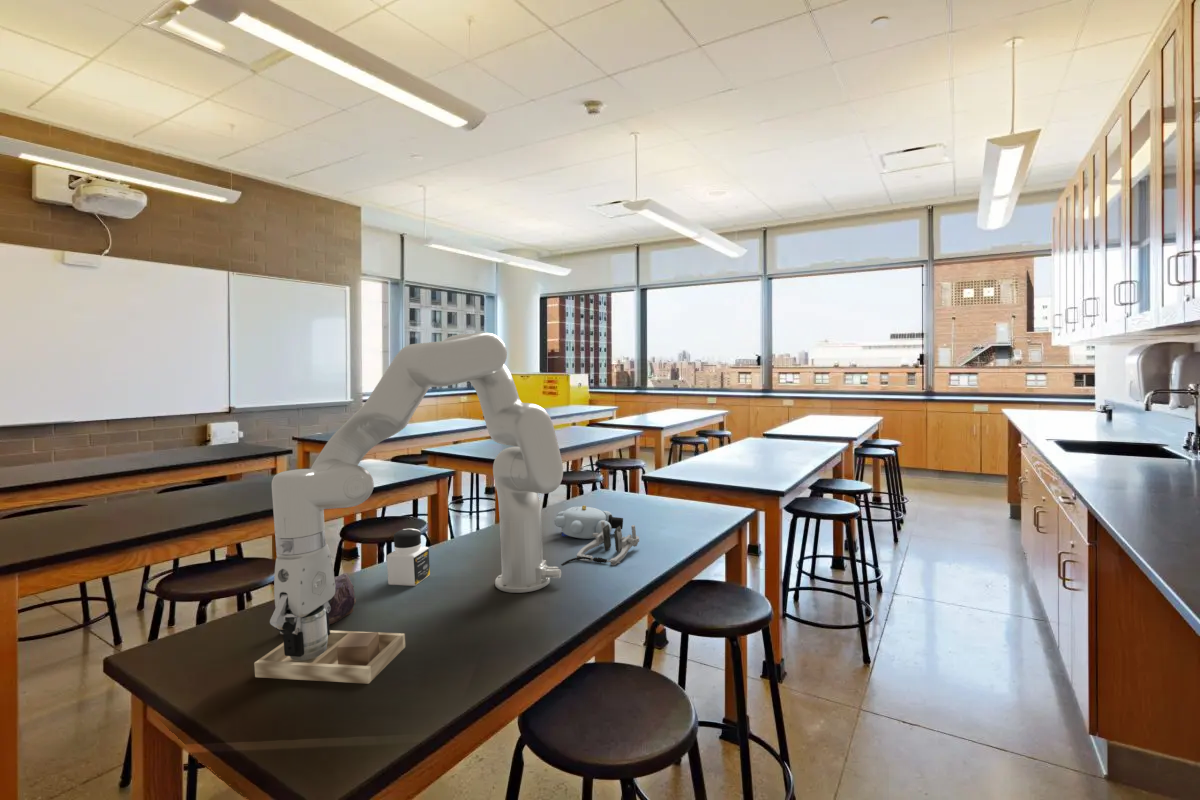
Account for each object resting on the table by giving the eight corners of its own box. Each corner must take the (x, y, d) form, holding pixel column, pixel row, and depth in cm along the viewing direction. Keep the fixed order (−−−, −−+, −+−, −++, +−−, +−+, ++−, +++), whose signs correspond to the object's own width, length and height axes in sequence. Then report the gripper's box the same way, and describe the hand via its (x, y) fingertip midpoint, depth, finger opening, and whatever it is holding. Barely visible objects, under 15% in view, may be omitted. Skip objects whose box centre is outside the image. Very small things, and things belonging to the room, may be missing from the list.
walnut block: (379, 654, 101) (378, 632, 101) (368, 669, 96) (367, 646, 96) (350, 655, 101) (349, 633, 100) (338, 670, 96) (336, 647, 95)
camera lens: (314, 640, 104) (311, 598, 104) (336, 648, 101) (333, 604, 100) (279, 656, 99) (276, 611, 98) (302, 665, 95) (298, 619, 95)
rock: (294, 631, 116) (320, 643, 110) (284, 592, 114) (309, 602, 108) (348, 602, 125) (374, 611, 119) (339, 565, 123) (365, 573, 117)
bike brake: (600, 539, 163) (562, 573, 146) (598, 517, 162) (559, 548, 145) (644, 546, 156) (609, 583, 139) (642, 523, 155) (607, 557, 138)
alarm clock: (550, 542, 164) (621, 548, 163) (552, 512, 163) (623, 518, 162) (558, 525, 181) (622, 530, 180) (560, 498, 180) (624, 503, 179)
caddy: (405, 650, 103) (404, 633, 103) (368, 688, 92) (367, 668, 91) (303, 646, 106) (302, 629, 106) (255, 681, 95) (254, 662, 94)
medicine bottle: (415, 586, 134) (413, 535, 133) (387, 585, 136) (384, 534, 135) (430, 575, 141) (428, 526, 140) (403, 574, 143) (401, 526, 142)
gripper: (286, 560, 89) (294, 673, 91) (350, 528, 106) (356, 623, 108) (242, 559, 91) (251, 670, 92) (313, 528, 108) (319, 622, 109)
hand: (308, 644), depth 100 cm, fingers closed on camera lens, 6 cm apart
